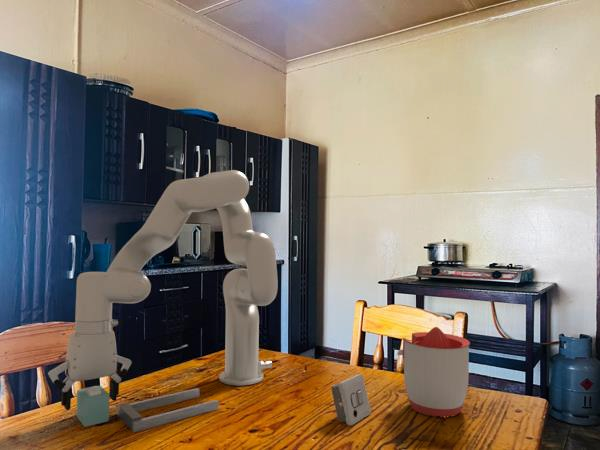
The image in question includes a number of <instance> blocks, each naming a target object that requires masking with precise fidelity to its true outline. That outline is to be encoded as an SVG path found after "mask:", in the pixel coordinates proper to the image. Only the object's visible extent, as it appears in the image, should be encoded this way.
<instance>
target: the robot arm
mask: <svg viewBox="0 0 600 450" xmlns="http://www.w3.org/2000/svg"><path fill="white" fill-rule="evenodd" d="M249 191H250V182H249V180H248V177H247V176H246V175H245V174H244V173H243V172H241V171H239V170H236V169H231V170H223V171H215V172H210V173H207V174H205V175H203V176H198V177H192V178H185V179H183V178H182V179H176V180H174V181H173V182H171V183H169V185H168V186H167V188H165V190H164V191H163V193H162V195H161V197H160V198H159V200H158V201H157V202H156V205H155V206H154V208H153V209H152V210H151V213H150V214H149V215H148V217H147V219H146V221H145V223H144V224H143V225H142V227H141V228H140V229H139V230H138V231H137V232H136V233H135V234H134V235H132V237H131V238H130V239H129V240H128V241H127V242H126V243H125V245H123V246H122V248H121V249H120V250H119V252H117V254H116V255H115V257H114V259H113V260H112V262H111V264H110V265H109V267H108V269H107V270H106V271H105V272H104V271H87V272H86V271H85V272H82V273H80V274H79V275H78V276H77V278H76V289H75V290H76V291H75V293H76V295H75V296H76V297H75V315H74V316H75V317H74V318H75V321H74V332H73V333H71V334H70V335H69V340H68V343H67V350H66V357H65V361H64V362H63V363H60V364H59V365H58V366H56V367H54V368H52V369H51V370H49V371H48V373H47V374H48V377H49V379H51V382H52V383H53V385H54V386H56V388H58V389H59V390H60V391H61V396H60V397H61V398H60V399H61V400H60V402H61V403H60V404H61V406H62V407H64V409H65V410H66V411H70V410H71V406H72V405H71V404H72V403H71V401H72V391H71V390H70V389H71V388H72V386H73V385H74V383H76V382H83V381H88V380H89V381H90V380H95V379H99V378H106V377H110V378H111V379H110V381H109V389H108V390H109V392H108V394H109V399H111V400H112V401H115V402H116V401H117V396H119V393H120V392H119V391H120V383H121V381H122V379H123V378H124V377H125V375H126V374H127V373H128V370H129V369H130V366H131V365H132V363H133V362H132V360H131V359H129V358H126V357H123V356H120V355H118V352H117V350H118V349H117V341H116V336H115V335H116V334H115V331H114V330H113V328H114V327H116V326H118V325H119V321H118V319H113V303H115V304H117V303H118V304H137V303H140V302H142V301H144V300H145V299H146V298H147V297H148V296H149V294H150V293H151V288H152V283H151V282H150V280H149V278H148V277H147V276H146V275H145V274H144V273H142V272H141V271H142V269H143V267H144V266H145V265H146V264H147V263H148V262H149V261H150V260H151V259H152V258H153V257H155V256H156V255H157V254H159V253H161V252H163V251H165V250H167V249H168V248H170V247H171V246H172V245H173V244H174V243H175V242H176V241H177V239H178V236H179V235H180V233H181V231H182V230H183V227H184V226H185V224H186V223H187V221H188V219H189V218H190V216H191V215H192V213H201V212H206V211H211V210H214V209H216V210H217V211H218V214H219V217H220V220H221V224H222V225H221V226H222V236H223V247H224V248H223V249H224V255H225V258H226V259H227V261H228V262H230V263H232V264H234V265H238V266H239V265H241V266H246V268H235V269H234V268H233V270H231V271H229V272H228V273H227V274H226V275H225V277H224V280H223V282H222V283H223V284H222V292H223V298H224V304H225V305H224V307H225V338H224V339H225V342H224V343H225V345H224V347H225V348H224V350H225V351H224V352H225V353H224V354H225V355H224V371H222V372H220V373H219V378H218V379H219V381H220V382H221V383H223V384H225V385H228V386H250V385H254V384H255V385H256V384H258V383H260V382H261V381H262V380H263V379H264V373H263V371H264V369H269V368H272V366H273V362H272V361H271V360H267V361H263V360H259V348H260V347H259V342H260V341H259V336H260V335H259V334H260V329H259V328H260V327H259V325H260V315H259V309H258V306H259V307H260V306H261V307H265V306H268V305H270V304H271V303H272V302H273V301H274V300H275V299H276V297H277V294H278V287H279V286H278V285H279V284H278V282H279V280H278V269H277V267H278V266H277V259H276V258H277V257H276V255H277V254H276V250H275V249H276V248H275V245H274V242H273V240H272V239H271V238H270V236H269V235H267V234H266V233H264V232H260V231H254V226H253V221H252V215H251V214H252V213H251V210H250V207H249V205H248V203H247V201H246V200H245V198H246V197H247V195H248V194H249ZM118 363H120V364H122V366H121V368H120V369H117V368H118ZM117 370H118V371H117ZM63 372H64V373H65V376H66V377H65V379H64V380H61V379H60V378H59V374H61V373H63Z"/></svg>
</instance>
